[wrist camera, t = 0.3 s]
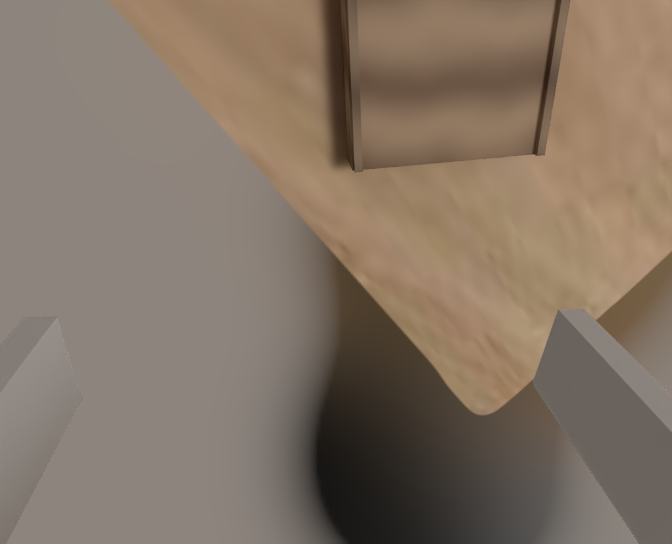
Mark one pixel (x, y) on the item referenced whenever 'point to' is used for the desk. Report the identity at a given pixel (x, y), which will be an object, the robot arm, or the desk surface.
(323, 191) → the desk surface
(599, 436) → the robot arm
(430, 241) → the desk surface
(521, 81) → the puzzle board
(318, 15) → the desk surface
